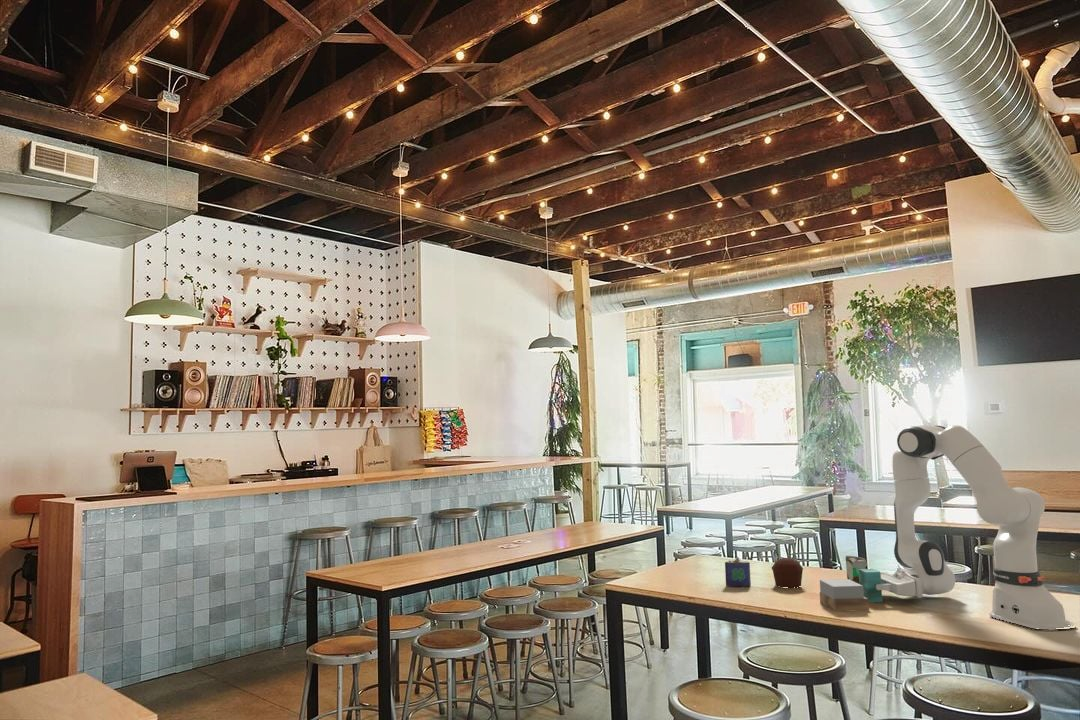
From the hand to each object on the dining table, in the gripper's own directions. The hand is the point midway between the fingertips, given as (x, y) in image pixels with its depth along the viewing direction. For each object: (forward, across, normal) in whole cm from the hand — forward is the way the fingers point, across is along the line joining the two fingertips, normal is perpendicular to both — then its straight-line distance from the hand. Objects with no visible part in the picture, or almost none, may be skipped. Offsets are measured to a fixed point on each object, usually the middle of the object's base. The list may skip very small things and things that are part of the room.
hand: (867, 583), depth 243 cm
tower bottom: (+12, +6, +6) cm, 15 cm away
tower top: (+12, +6, +2) cm, 14 cm away
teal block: (-1, 0, +6) cm, 6 cm away
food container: (-8, -20, +6) cm, 22 cm away
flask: (+35, -28, +6) cm, 45 cm away
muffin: (+17, -25, +6) cm, 31 cm away
